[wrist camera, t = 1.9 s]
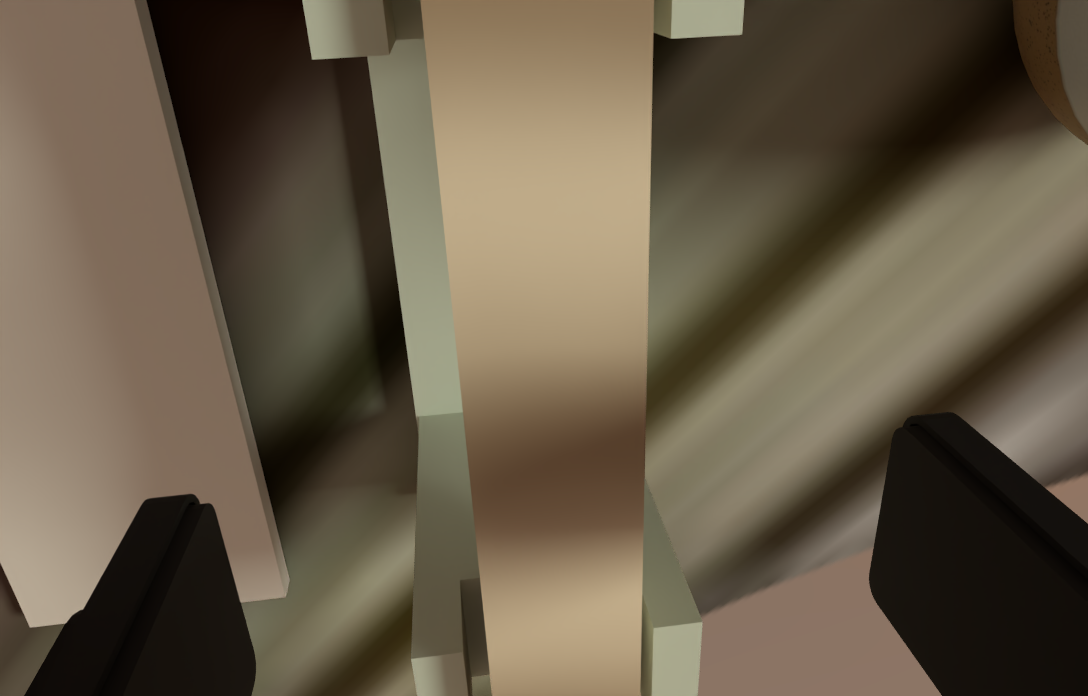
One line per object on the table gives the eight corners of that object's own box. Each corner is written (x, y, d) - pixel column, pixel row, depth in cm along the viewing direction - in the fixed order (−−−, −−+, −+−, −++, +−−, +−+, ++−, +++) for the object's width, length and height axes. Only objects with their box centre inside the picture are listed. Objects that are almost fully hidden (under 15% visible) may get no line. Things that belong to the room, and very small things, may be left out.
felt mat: (-375, -323, 15) (-414, -337, 14) (65, -329, 16) (46, -343, 15) (41, 609, 26) (30, 627, 25) (289, 580, 27) (285, 597, 26)
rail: (390, -335, 10) (376, -436, 8) (604, -337, 10) (662, -437, 8) (497, 717, 19) (506, 839, 17) (609, 702, 19) (637, 820, 17)
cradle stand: (342, -161, 18) (247, -276, 9) (607, -170, 18) (771, -285, 9) (429, 492, 26) (425, 775, 17) (609, 472, 26) (698, 737, 17)
